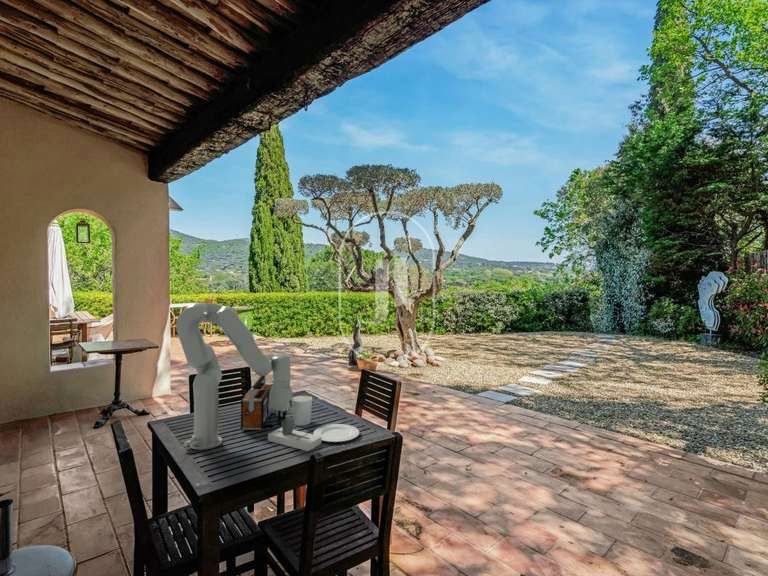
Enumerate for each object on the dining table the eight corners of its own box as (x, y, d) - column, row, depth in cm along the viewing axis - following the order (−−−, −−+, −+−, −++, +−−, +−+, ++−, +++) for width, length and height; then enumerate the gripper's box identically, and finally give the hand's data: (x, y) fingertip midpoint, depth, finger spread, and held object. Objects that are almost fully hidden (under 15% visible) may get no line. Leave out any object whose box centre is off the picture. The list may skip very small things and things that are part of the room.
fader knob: (286, 435, 173) (286, 421, 173) (281, 434, 175) (281, 420, 175) (294, 431, 178) (294, 418, 178) (288, 430, 179) (288, 417, 179)
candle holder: (313, 425, 195) (314, 400, 195) (293, 427, 191) (293, 402, 191) (309, 418, 204) (310, 394, 204) (290, 420, 201) (290, 396, 200)
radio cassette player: (262, 432, 185) (263, 389, 184) (239, 432, 184) (239, 389, 183) (273, 411, 214) (274, 374, 214) (253, 411, 213) (254, 374, 213)
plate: (325, 449, 168) (325, 445, 168) (305, 433, 185) (305, 429, 185) (368, 439, 180) (368, 435, 180) (345, 424, 197) (345, 420, 197)
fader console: (308, 451, 166) (308, 443, 165) (267, 440, 176) (268, 433, 175) (321, 443, 174) (321, 436, 173) (281, 433, 184) (282, 426, 183)
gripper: (262, 383, 177) (262, 424, 178) (289, 387, 171) (288, 430, 171) (274, 379, 184) (274, 419, 185) (300, 383, 178) (300, 424, 178)
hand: (281, 424), depth 178 cm, fingers closed
